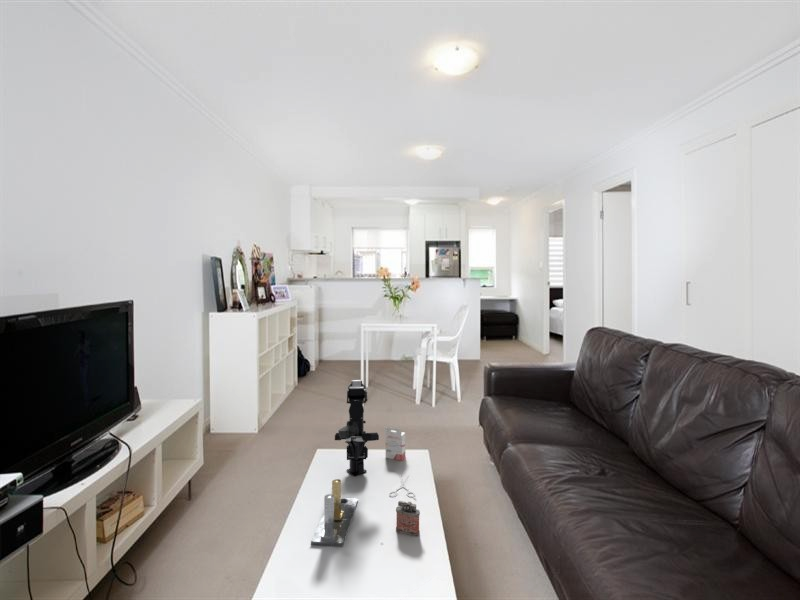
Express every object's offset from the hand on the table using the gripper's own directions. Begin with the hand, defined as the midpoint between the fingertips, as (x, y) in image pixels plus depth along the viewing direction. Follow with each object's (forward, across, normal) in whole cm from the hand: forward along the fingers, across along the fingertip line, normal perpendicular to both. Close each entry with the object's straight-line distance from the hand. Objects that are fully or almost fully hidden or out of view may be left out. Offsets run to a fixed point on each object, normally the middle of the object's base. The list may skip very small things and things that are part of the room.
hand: (356, 459), depth 152 cm
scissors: (+12, +11, +17) cm, 23 cm away
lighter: (+21, +27, -6) cm, 34 cm away
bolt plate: (+18, +4, -15) cm, 23 cm away
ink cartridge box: (+3, -6, +35) cm, 36 cm away
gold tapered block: (+16, +4, -15) cm, 23 cm away
